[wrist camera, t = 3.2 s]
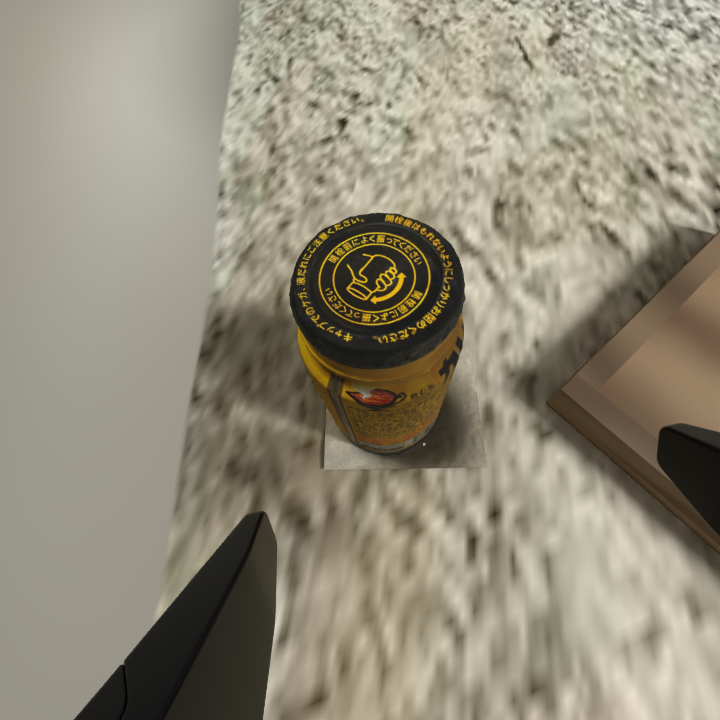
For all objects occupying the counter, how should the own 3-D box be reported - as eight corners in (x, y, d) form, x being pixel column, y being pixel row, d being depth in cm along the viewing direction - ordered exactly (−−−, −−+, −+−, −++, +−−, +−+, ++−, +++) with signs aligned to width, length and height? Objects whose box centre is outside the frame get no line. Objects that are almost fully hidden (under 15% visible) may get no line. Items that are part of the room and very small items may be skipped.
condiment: (328, 347, 24) (271, 193, 13) (469, 341, 23) (536, 174, 12) (324, 470, 21) (246, 407, 10) (486, 468, 20) (592, 397, 9)
